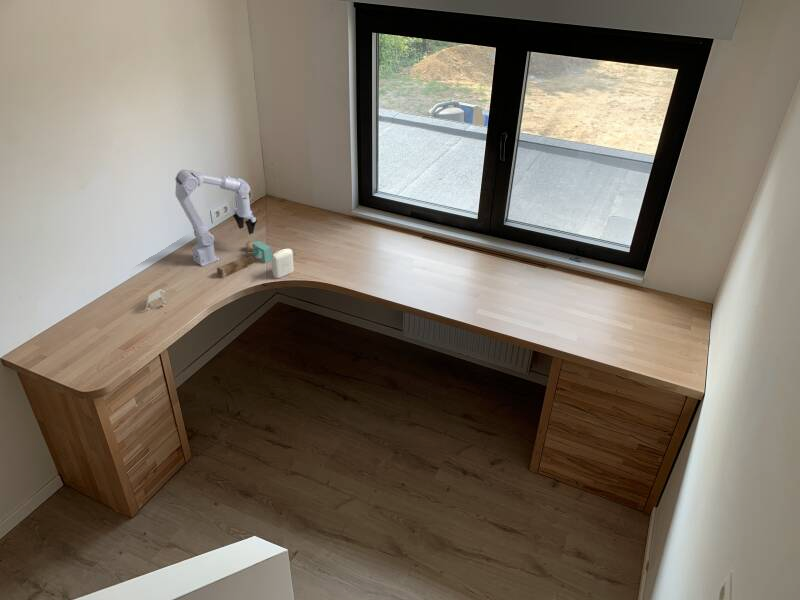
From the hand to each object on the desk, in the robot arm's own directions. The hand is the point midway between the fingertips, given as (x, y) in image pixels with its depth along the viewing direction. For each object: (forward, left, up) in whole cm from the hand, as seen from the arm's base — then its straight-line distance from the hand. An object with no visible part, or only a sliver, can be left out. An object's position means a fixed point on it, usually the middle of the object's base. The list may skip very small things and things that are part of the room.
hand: (246, 230), depth 296 cm
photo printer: (-3, -30, -10) cm, 32 cm away
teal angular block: (-1, -12, -10) cm, 16 cm away
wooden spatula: (-16, -12, -10) cm, 22 cm away
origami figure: (-55, -12, -10) cm, 57 cm away
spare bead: (0, -2, -10) cm, 10 cm away
